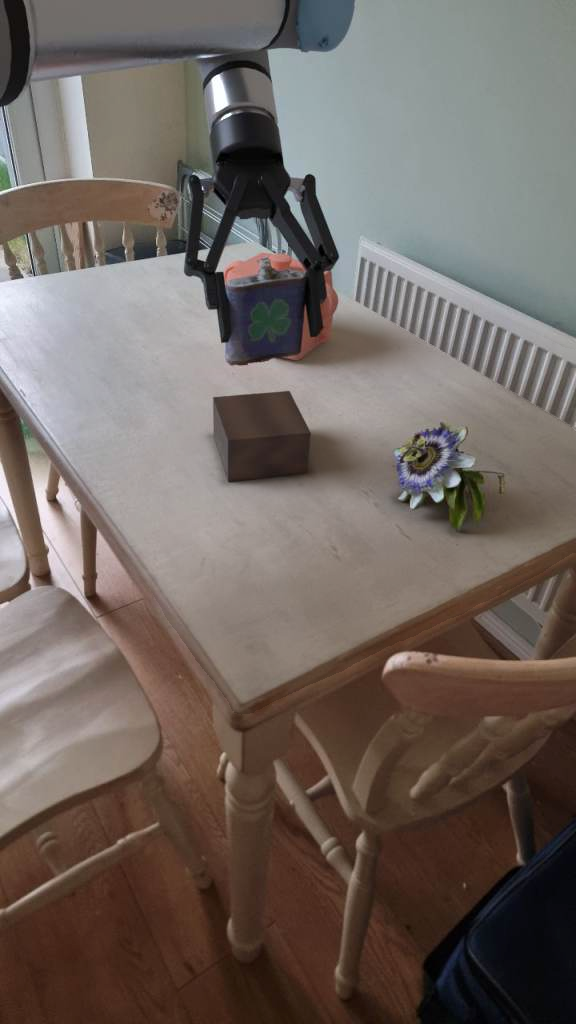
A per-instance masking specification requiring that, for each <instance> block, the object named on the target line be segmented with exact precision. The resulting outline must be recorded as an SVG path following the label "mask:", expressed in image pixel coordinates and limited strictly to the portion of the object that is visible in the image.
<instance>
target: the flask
mask: <svg viewBox="0 0 576 1024" xmlns="http://www.w3.org/2000/svg"><path fill="white" fill-rule="evenodd" d="M268 259H269V257H265V258H261V259H260V260H262V262H260V269H259V270H257V271H258V273H259V274H256V275H252V276H246V277H241V278H236V279H232V280H229V281H227V283H226V284H225V285H226V294H227V302H228V309H229V317H230V324H231V332H232V334H231V337H230V339H229V342H227V343H225V350H224V352H225V354H224V359H225V361H226V363H227V364H228V365H229V366H232V367H233V366H239V367H242V366H248V365H249V364H254V363H255V364H256V363H265V362H269V361H270V360H272V359H276V360H278V359H281V358H283V357H289V356H297V355H298V354H300V352H301V345H302V334H303V324H304V310H305V300H306V287H307V280H308V278H307V276H306V275H305V274H304V273H302V272H301V271H298V270H294V271H292V270H291V269H284V270H276V269H274V268H272V267H271V262H270V261H271V260H268ZM264 260H266V261H264ZM257 262H259V260H257ZM285 270H287V271H285Z"/></svg>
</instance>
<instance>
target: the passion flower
mask: <svg viewBox="0 0 576 1024" xmlns="http://www.w3.org/2000/svg"><path fill="white" fill-rule="evenodd" d="M439 426H440V427H438V428H437V429H436V428H435V427H433V428H432V430H430V429H429V428H426V429H425V431H423V430H420V431H419V432H417V433H414V435H413V436H412V437H410V438H409V439H407V440H406V442H405V443H404V444H403V445H402V446H401V447H397V448H395V449H394V450H393V454H394V456H395V457H396V459H397V463H396V465H395V468H396V472H397V473H398V475H397V476H398V480H397V483H398V485H399V486H400V488H401V490H403V491H402V492H401V493H400V495H399V497H397V500H398V501H400V502H408V501H409V508H410V510H412V511H413V510H417V509H419V508H421V507H422V506H423V505H424V503H425V502H426V500H427V498H428V496H430V497H431V499H432V500H433V502H434V503H436V504H439V503H441V502H443V501H444V500H445V499H446V503H447V506H448V514H449V515H448V516H449V517H448V519H449V525H450V527H451V528H452V529H454V530H456V532H461V531H462V527H463V524H464V523H465V521H466V519H467V514H468V510H469V509H468V505H467V496H466V489H468V493H469V495H470V498H471V503H472V504H471V505H472V508H471V510H472V518H473V525H472V527H473V528H474V527H475V526H476V524H478V522H479V521H480V520H481V518H482V517H483V516H484V512H485V506H486V504H485V501H486V499H485V498H486V496H485V495H486V494H485V492H484V491H483V490H482V487H481V486H480V485H484V483H485V479H484V478H485V477H484V475H483V474H482V473H485V474H496V475H497V478H498V482H499V490H498V493H499V494H500V495H501V494H504V493H505V475H506V474H505V473H504V472H499V471H490V470H466V469H468V468H472V467H474V466H475V465H476V463H477V458H476V457H475V456H473V455H471V454H469V453H465V451H463V450H462V451H460V450H459V447H460V446H461V445H462V444H463V443H464V442H465V440H466V439H467V437H468V434H469V429H468V428H469V427H468V426H461V427H458V428H457V429H455V430H453V428H452V425H451V424H449V423H444V422H443V421H440V422H439Z"/></svg>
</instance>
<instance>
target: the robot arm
mask: <svg viewBox="0 0 576 1024" xmlns="http://www.w3.org/2000/svg"><path fill="white" fill-rule="evenodd" d="M355 2H356V0H0V108H2V107H3V108H4V107H6V106H11V105H13V104H15V103H16V102H18V101H20V99H21V98H22V97H23V95H24V94H25V93H26V91H27V89H28V88H29V85H30V83H37V82H38V83H39V82H44V81H52V80H58V79H65V78H73V77H79V76H88V75H93V74H101V73H108V72H115V71H121V70H128V69H136V68H142V67H151V66H157V65H164V64H171V63H177V62H178V63H179V62H185V61H186V62H187V61H191V60H194V62H196V64H197V66H198V68H199V74H200V79H201V85H202V93H203V99H204V107H205V116H206V123H207V130H208V134H209V145H210V152H211V153H210V154H211V161H212V168H213V174H212V176H211V177H206V178H200V177H199V176H198V175H196V174H190V175H189V176H188V179H187V186H186V196H187V200H188V204H189V208H190V211H189V220H188V229H187V239H186V247H185V256H184V264H183V273H184V275H185V276H186V277H188V278H189V277H190V278H191V277H195V278H199V279H200V280H201V281H200V282H201V283H202V284H203V291H204V293H203V294H204V299H205V306H206V308H207V310H208V311H212V310H214V311H215V310H216V314H217V322H218V329H219V337H220V343H221V344H226V343H227V342H229V339H230V337H231V334H232V332H231V324H230V317H229V309H228V302H227V294H226V287H225V285H226V284H225V280H224V271H217V269H218V267H219V263H220V261H221V258H222V255H223V252H224V250H225V248H226V245H227V242H228V240H229V237H230V235H231V232H232V229H233V227H234V225H235V222H236V219H237V218H239V220H249V219H252V218H254V219H258V220H269V221H270V222H271V223H270V224H272V226H273V227H274V228H277V230H278V232H279V233H280V235H281V236H282V237H283V239H284V240H285V242H286V243H287V245H288V246H289V248H290V249H291V251H292V252H293V254H294V255H295V257H296V258H297V260H299V261H300V263H301V264H302V266H303V267H304V269H305V270H306V273H305V275H306V276H307V278H308V280H307V287H306V300H305V304H306V311H307V318H308V325H309V332H310V337H317V336H318V335H319V333H320V332H321V331H322V329H323V321H322V314H321V307H320V304H323V302H324V301H325V299H326V297H327V290H326V283H325V276H324V272H325V271H330V270H331V271H332V270H333V269H334V267H335V266H336V264H337V262H338V260H339V259H340V254H339V251H338V249H337V246H336V243H335V241H334V238H333V236H332V233H331V231H330V228H329V225H328V221H327V220H326V217H325V215H324V212H323V210H322V207H321V203H320V202H319V199H318V196H317V179H316V177H315V175H314V174H311V173H308V174H306V175H305V176H304V178H300V177H291V176H290V174H289V172H288V171H287V170H286V167H285V163H284V155H283V154H284V153H283V149H282V140H281V134H280V128H279V126H278V124H279V120H278V113H277V106H276V99H275V94H274V88H273V80H272V74H271V66H270V60H269V52H268V51H269V50H276V49H293V50H298V51H300V52H302V53H306V54H307V53H309V52H318V53H328V52H331V51H333V50H335V49H336V48H337V47H338V46H339V45H341V43H342V42H343V41H344V39H345V38H346V36H347V34H348V32H349V29H350V28H351V24H352V20H353V18H354V12H355V8H356V7H355V4H356V3H355ZM288 192H291V193H292V194H293V197H294V199H295V201H296V202H297V203H299V207H300V211H301V214H302V217H303V219H304V221H305V222H304V223H305V224H306V227H307V229H308V232H309V236H310V237H311V239H310V238H309V236H308V234H307V233H306V231H305V230H304V228H303V227H302V226H301V224H300V222H299V220H298V219H297V218H296V216H295V215H294V213H293V212H292V210H291V206H290V203H289V202H288V200H287V199H286V198H285V196H286V195H287V193H288ZM211 193H213V194H214V195H215V196H216V197H217V199H219V201H220V202H221V203H222V204H223V205H224V206H225V207H224V211H223V213H222V216H221V219H220V221H219V224H218V227H217V230H216V232H215V234H214V236H213V237H214V238H213V239H212V242H211V245H210V248H209V250H208V252H207V256H206V258H205V260H202V259H199V251H200V249H199V248H200V240H201V231H202V221H203V213H204V204H205V203H207V202H208V201H209V196H210V194H211ZM311 240H312V241H311Z"/></svg>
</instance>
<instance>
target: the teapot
mask: <svg viewBox="0 0 576 1024" xmlns="http://www.w3.org/2000/svg"><path fill="white" fill-rule="evenodd" d="M265 257H269V259H268V260H271V261H270V262H271V267H272V268H274V269H276V270H284V269H291V270H292V271H294V270H298V271H301V272H302V273H304V274H305V273H306V270H305V269H304V267H303V266H302V264H301V263H300V261H299V260H298V259H296V258H293V257H292V256H291V255H288V254H286V253H269V252H261V253H259V254H256V255H255V256H252V257H250V258H249V259H247V260H245V261H243V260H235V261H233V262H231V263H229V264H228V265H227V266H226V268H225V269H224V271H223V272H224V280H225V287H226V283H227V281H229V280H232V279H236V278H241V277H246V276H252V275H256V274H259V273H258V271H257V270H259V269H260V262H262V260H260V259H261V258H265ZM257 260H259V262H257ZM264 261H266V260H264ZM285 271H287V270H285ZM324 276H325V283H326V290H327V297H326V299H325V301H324V302H323V304H320V307H321V314H322V321H323V329H322V331H321V332H320V333H319V335H318V336H317V337H310V332H309V325H308V318H307V311H306V304H305V310H304V324H303V334H302V345H301V352H300V354H298V355H297V356H289V357H282V359H288V360H294V361H298V360H300V359H302V358H303V357H305V356H306V355H307V354H309V353H310V352H311V351H313V350H314V349H315V348H316V347H317V346H318V345H320V344H321V343H327V342H329V341H330V340H331V338H332V334H333V332H332V326H333V319H334V314H335V312H336V310H337V308H338V305H339V296H338V293H337V291H336V290H335V289H334V286H333V275H332V270H330V271H325V272H324Z"/></svg>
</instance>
